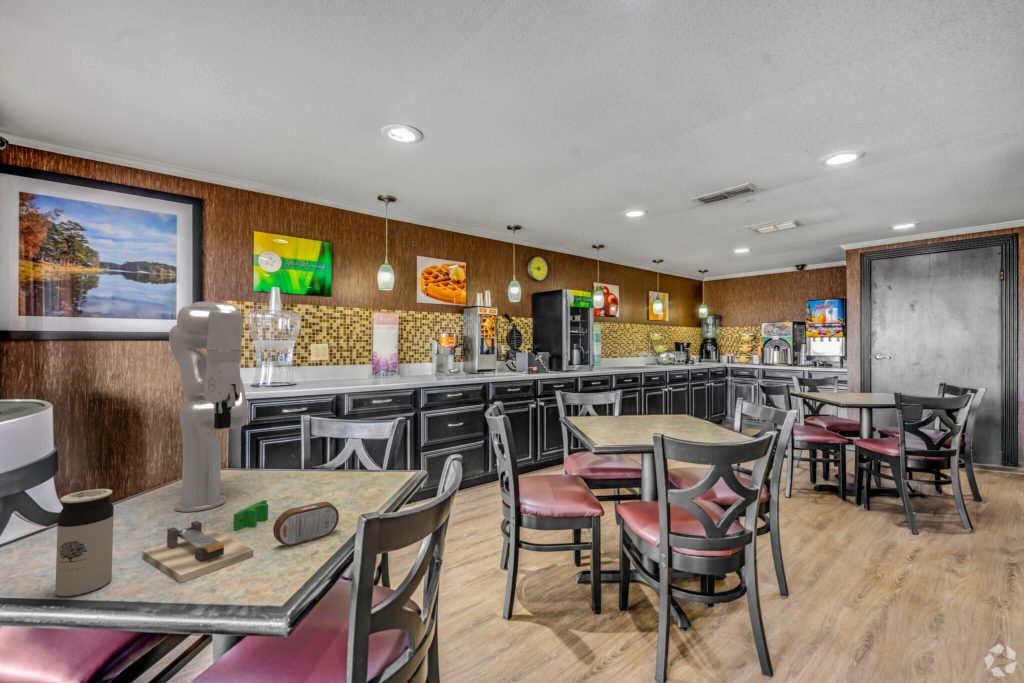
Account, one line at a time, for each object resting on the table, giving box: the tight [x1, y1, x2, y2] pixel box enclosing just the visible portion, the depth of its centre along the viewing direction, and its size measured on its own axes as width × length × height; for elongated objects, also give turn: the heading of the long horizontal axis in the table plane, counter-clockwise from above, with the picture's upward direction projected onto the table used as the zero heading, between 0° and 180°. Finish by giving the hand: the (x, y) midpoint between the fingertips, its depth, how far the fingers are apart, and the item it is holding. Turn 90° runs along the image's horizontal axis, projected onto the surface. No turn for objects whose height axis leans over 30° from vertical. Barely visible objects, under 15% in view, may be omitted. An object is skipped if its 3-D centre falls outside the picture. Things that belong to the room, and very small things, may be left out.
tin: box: [272, 501, 340, 547], centre depth 110 cm, size 15×3×8 cm, turn 135°
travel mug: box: [54, 488, 115, 597], centre depth 88 cm, size 8×8×18 cm
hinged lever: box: [178, 526, 224, 553], centre depth 100 cm, size 16×3×1 cm, turn 57°
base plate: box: [141, 520, 254, 584], centre depth 100 cm, size 20×14×6 cm
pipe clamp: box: [233, 499, 269, 532], centre depth 120 cm, size 11×4×5 cm, turn 173°
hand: (222, 427), depth 116 cm, fingers closed
